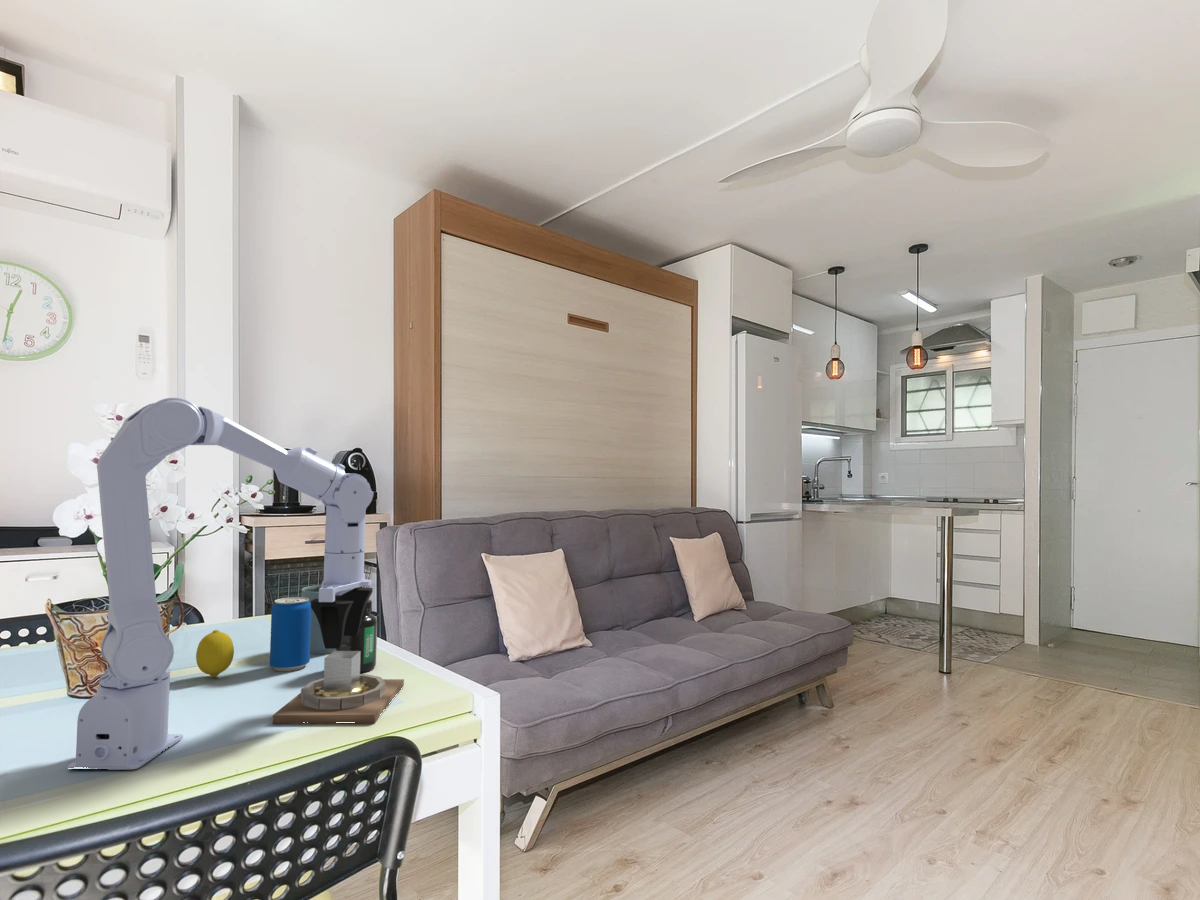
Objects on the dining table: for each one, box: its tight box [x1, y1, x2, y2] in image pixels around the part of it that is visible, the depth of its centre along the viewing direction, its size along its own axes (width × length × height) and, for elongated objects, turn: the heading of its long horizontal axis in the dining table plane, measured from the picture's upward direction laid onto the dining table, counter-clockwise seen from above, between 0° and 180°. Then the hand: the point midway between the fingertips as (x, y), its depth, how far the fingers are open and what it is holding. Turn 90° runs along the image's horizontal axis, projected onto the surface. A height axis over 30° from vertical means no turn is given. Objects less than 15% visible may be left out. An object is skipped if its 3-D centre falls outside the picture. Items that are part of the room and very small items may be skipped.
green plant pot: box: [301, 584, 336, 655], centre depth 131 cm, size 10×10×12 cm
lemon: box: [195, 629, 235, 678], centre depth 111 cm, size 6×6×8 cm
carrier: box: [271, 673, 405, 725], centre depth 99 cm, size 16×14×3 cm
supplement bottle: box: [336, 598, 378, 674], centre depth 117 cm, size 7×7×12 cm
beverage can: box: [269, 596, 311, 672], centre depth 118 cm, size 6×6×12 cm
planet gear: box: [314, 651, 369, 697], centre depth 99 cm, size 8×8×6 cm
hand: (342, 641), depth 100 cm, fingers open, 7 cm apart
